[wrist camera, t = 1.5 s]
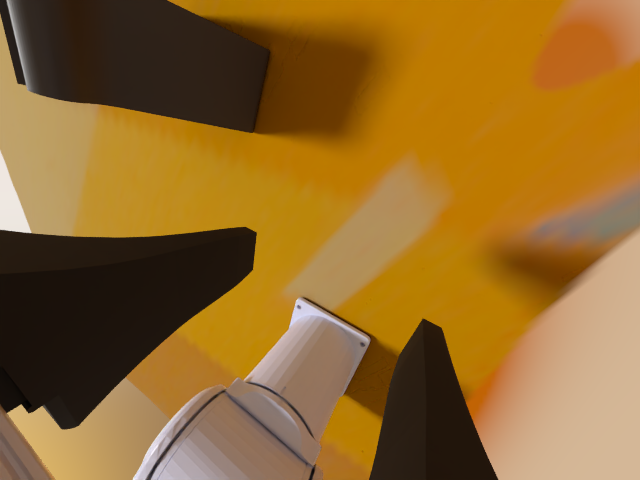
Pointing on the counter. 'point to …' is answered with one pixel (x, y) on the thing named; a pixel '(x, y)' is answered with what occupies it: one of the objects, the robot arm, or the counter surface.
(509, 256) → the counter surface
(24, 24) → the door stopper
